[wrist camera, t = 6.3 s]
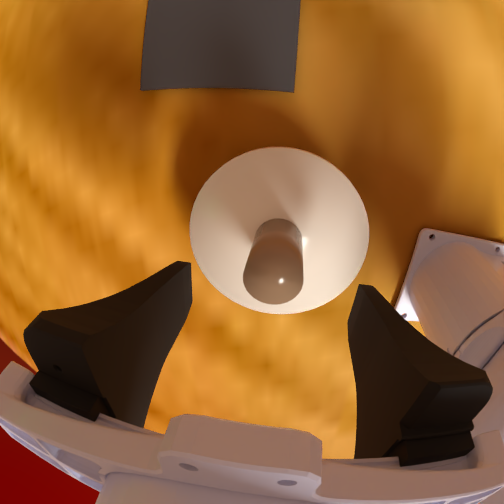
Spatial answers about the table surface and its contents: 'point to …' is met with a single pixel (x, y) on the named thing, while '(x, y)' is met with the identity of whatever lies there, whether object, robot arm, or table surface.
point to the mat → (220, 44)
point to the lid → (279, 230)
